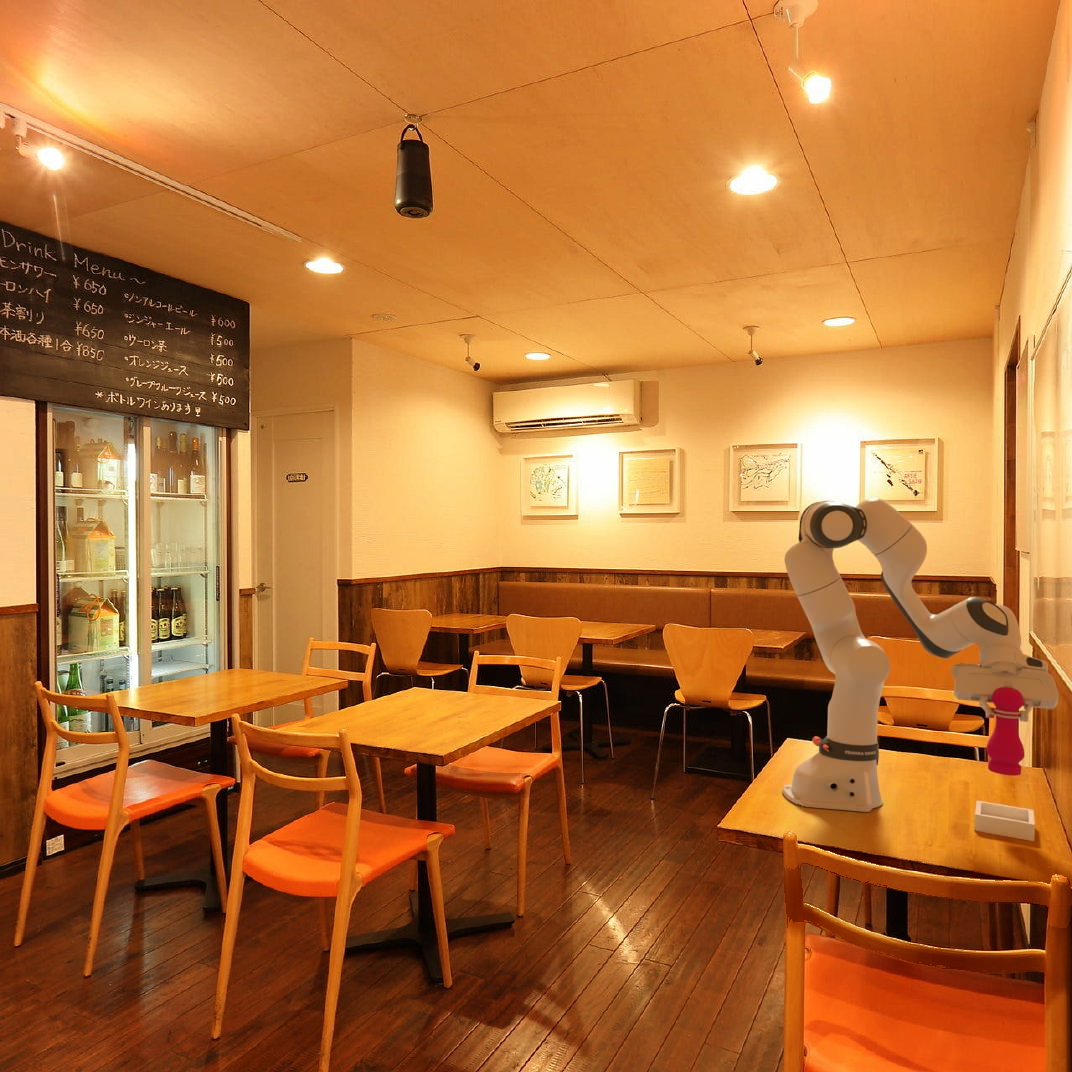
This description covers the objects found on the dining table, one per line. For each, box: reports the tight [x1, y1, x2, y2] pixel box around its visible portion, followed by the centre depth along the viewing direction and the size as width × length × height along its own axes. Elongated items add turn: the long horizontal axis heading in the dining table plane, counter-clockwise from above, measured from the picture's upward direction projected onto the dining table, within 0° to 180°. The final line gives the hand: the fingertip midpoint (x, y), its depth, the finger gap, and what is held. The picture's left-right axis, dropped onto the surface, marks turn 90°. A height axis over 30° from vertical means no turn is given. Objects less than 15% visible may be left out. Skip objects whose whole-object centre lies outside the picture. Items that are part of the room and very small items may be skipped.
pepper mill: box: [985, 680, 1025, 777], centre depth 178 cm, size 7×7×20 cm
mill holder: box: [974, 800, 1036, 842], centre depth 177 cm, size 11×11×4 cm
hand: (1007, 718), depth 177 cm, fingers closed on pepper mill, 5 cm apart
